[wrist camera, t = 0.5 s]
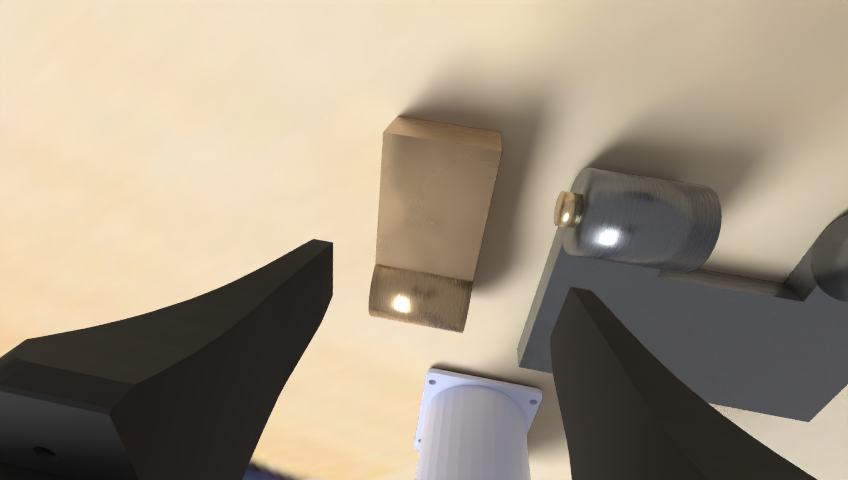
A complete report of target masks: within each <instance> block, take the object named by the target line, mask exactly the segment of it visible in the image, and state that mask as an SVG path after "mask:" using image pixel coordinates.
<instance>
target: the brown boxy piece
mask: <svg viewBox="0 0 848 480" xmlns="http://www.w3.org/2000/svg"><path fill="white" fill-rule="evenodd" d="M501 154H502V144H501V133H500V132H497V131H491V130H484V129H478V128H471V127H465V126H458V125H451V124H445V123H438V122H432V121H425V120H419V119H412V118H406V117H399V116H397V117H396V118H395V119H394V121H393V122H392V123H391V124H390V125H389V126H388V127H387V129H386V130H385V131H384V132H383V146H382V162H381V179H380V196H379V213H378V229H377V246H376V263H375V268H374V272H373V277H372V282H371V288H370V295H369V314H370V316H374V317H379V318H385V319H390V320H395V321H401V322H406V323H411V324H417V325H422V326H427V327H433V328H438V329H443V330H449V331H454V332H459V333H463V330H464V327H465V323H466V318H467V314H468V309H469V303H470V297H471V291H472V284H473V279H474V274H475V270H476V265H477V261H478V256H479V252H480V247H481V243H482V238H483V234H484V230H485V225H486V221H487V216H488V212H489V207H490V203H491V198H492V194H493V189H494V185H495V180H496V176H497V171H498V167H499V163H500V158H501Z"/></svg>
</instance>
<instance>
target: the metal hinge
mask: <svg viewBox="0 0 848 480" xmlns="http://www.w3.org/2000/svg"><path fill="white" fill-rule="evenodd" d="M721 218H722V215H721V206H720V202H719V199H718V197H717V195H716V193H715V192H714V191H713V190H712V189H711V188H709V187H707V186H703V185H697V184H691V183H684V182H678V181H671V180H665V179H659V178H652V177H646V176H639V175H633V174H627V173H620V172H614V171H607V170H601V169H595V168H588V167H587V168H584V169H583V170H582V171H581V172H580V173H579V174H578V176H577V177H576V179H575V181H574V183H573V186H572V188H571V191H570V192H565V191H562V192H561V193H560V195H559V197H558V199H557V202H556V206H555V211H554V224H555V225H556V226H558V229H557V232H556V235H555V238H554V241H553V244H552V247H551V250H550V253H549V256H548V259H547V262H546V265H545V268H544V271H543V274H542V277H541V280H540V283H539V286H538V289H537V292H536V295H535V298H534V301H533V303H532V306H531V309H530V312H529V315H528V318H527V321H526V324H525V327H524V330H523V333H522V336H521V339H520V342H519V345H518V348H517V351H518V363H519V367H522V368H527V369H533V370H538V371H543V372H548V373H553V371H552V361H551V346H550V336H551V334H552V331H553V329H554V326H555V324H556V321H557V319H558V316H559V314H560V311H561V309H562V306H563V304H564V301H565V299H566V296H567V294H568V291H569V289H570V287H576V288H581V289H586V290H591V291H592V292H593V293H595V294H596V295H597V296H598V297H599V299H600V300H601V301H602V302H603V303H604V304H605V305H606V306H607V307H608V308H609V309H610V310H611V311H612V313H613V314H614V315H615V316H616V317H617V318H618V319H619V320H620V321H621V322H622V323H623V325H624V326H625V327H626V328H627V329H628V330H629V331H630V332H631V333H632V334H633V335H634V336H635V337H636V338H637V339H638V340H639V341H640V342H641V343H642V345H643V346H644V347H645V348H646V349H647V350H648V351H649V352H650V353H651V354H653V355H654V356H655V357H656V358H657V359H658V360H659V361H660V362H661V363H662V364H663V365H664V366H665V367H666V368H667V369H668V370H669V371H670V372H671V373H673V374H674V375H675V376H676V377H677V378H678V379H679V380H680V381H682V382H683V383H684V384H685V385H686V386H688V387H689V388H690V389H691V390H692V391H693V392H695V393H696V394H697V395H698V396H699V397H701V398H702V399H703V400H704V401H705V402H707V403H711V404H716V405H722V406H727V407H732V408H737V409H743V410H748V411H753V412H758V413H764V414H769V415H774V416H779V417H785V418H790V419H795V420H800V421H806V422H809V421H810V420H811V419H812V418H813V417H815V416H816V415H817V414H818V413H819V412H820V411H821V410H822V409H823V408H824V407H825V406H826V405H827V404H828V403H829V402H830V401H831V400H832V399H833V398H834V397H835V396H836V395H837V394H838V393H839V392H840V391H841V390H842V389H843V388H844V387H845V386H846V385H847V384H848V215H845V216H843V217H841V218H839V219H837V220H836V221H834V222H833V223H831V224H830V225H829V226H828V227H827V228H826V229H825V230H824V231H823V232H822V233H821V234H820V236H819V237H818V238H817V240H816V241H815V242H814V244H813V245H812V246H811V248H810V249H809V251H808V252H807V253H806V255H805V256H804V257H803V259H802V260H801V261H800V263H799V264H798V265H797V267H796V268H795V269H794V271H793V272H792V273H791V275H790V276H789V277H788V279H787V280H786V281H785V283H784V284H783V283H777V282H771V281H765V280H759V279H753V278H747V277H741V276H735V275H730V274H724V273H718V272H712V271H706V270H700V269H698V268H699V267H701V266H702V265H703V264H704V263H705V261H706V260H707V259H708V258H709V256H710V255H711V253H712V251H713V249H714V247H715V245H716V242H717V240H718V236H719V233H720V228H721Z"/></svg>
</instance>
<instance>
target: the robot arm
mask: <svg viewBox="0 0 848 480" xmlns="http://www.w3.org/2000/svg"><path fill="white" fill-rule="evenodd" d="M332 296H333V243H332V242H327V241H321V240H316V239H313V240H311V241H309V242H307V243H305V244H303V245H301V246H300V247H298V248H296V249H294V250H293V251H291V252H289V253H287V254H286V255H284V256H282V257H280V258H278V259H276V260H275V261H273V262H271V263H269V264H267V265H266V266H264V267H262V268H260V269H258V270H256V271H254V272H252V273H250V274H248V275H246V276H244V277H242V278H240V279H238V280H235V281H233V282H231V283H229V284H227V285H225V286H222V287H220V288H218V289H215V290H213V291H210V292H208V293H205V294H203V295H200V296H198V297H195V298H192V299H190V300H187V301H184V302H181V303H177V304H174V305H171V306H168V307H165V308H162V309H159V310H156V311H153V312H149V313H146V314H142V315H139V316H135V317H131V318H127V319H124V320H120V321H115V322H111V323H107V324H103V325H99V326H94V327H90V328H85V329H80V330H74V331H69V332H64V333H59V334H54V335H48V336H43V337H37V338H31V339H26V340H25V341H23V342H22V343H21V344H19V345H18V346H16V347H15V348H13V349H12V350H11V351H9V352H8V353H6V354H5V355H3V356H2V357H1V358H0V480H242V479H243V476H244V474H245V471H246V469H247V467H248V464H249V462H250V459H251V457H252V455H253V452H254V450H255V448H256V446H257V443H258V441H259V439H260V436H261V434H262V432H263V430H264V427H265V425H266V423H267V421H268V419H269V416H270V414H271V412H272V410H273V408H274V406H275V403H276V401H277V399H278V397H279V395H280V393H281V391H282V389H283V387H284V385H285V384H286V382H287V380H288V378H289V377H290V375H291V373H292V372H293V370H294V368H295V367H296V365H297V363H298V361H299V360H300V358H301V356H302V355H303V353H304V351H305V350H306V348H307V346H308V345H309V343H310V341H311V339H312V338H313V336H314V334H315V333H316V331H317V329H318V327H319V326H320V324H321V322H322V320H323V317H324V315H325V313H326V310H327V308H328V306H329V303H330V301H331V298H332ZM550 346H551V361H552V371H553V376H554V381H555V386H556V391H557V396H558V400H559V405H560V410H561V415H562V420H563V424H564V429H565V434H566V439H567V444H568V450H569V456H570V465H571V475H572V480H817V479H816V478H814V477H812V476H811V475H809V474H808V473H806V472H804V471H803V470H801V469H800V468H798V467H797V466H795V465H794V464H792V463H791V462H789V461H788V460H786V459H785V458H783V457H781V456H780V455H778V454H777V453H775V452H774V451H772V450H771V449H769V448H768V447H767V446H765V445H764V444H762V443H761V442H759V441H758V440H756V439H755V438H753V437H752V436H751V435H749V434H748V433H746V432H745V431H744V430H742V429H741V428H740V427H738V426H737V425H736V424H734V423H733V422H732V421H730V420H729V419H727V418H726V417H725V416H723V415H722V414H721V413H719V412H718V411H717V410H716V409H714V408H713V407H712V406H710V405H709V404H708V403H707V402H705V401H704V400H703V399H702V398H701V397H699V396H698V395H697V394H696V393H695V392H693V391H692V390H691V389H690V388H689V387H688V386H686V385H685V384H684V383H683V382H682V381H680V380H679V379H678V378H677V377H676V376H675V375H674V374H673V373H671V372H670V371H669V370H668V369H667V368H666V367H665V366H664V365H663V364H662V363H661V362H660V361H659V360H658V359H657V358H656V357H655V356H654V355H653V354H651V353H650V352H649V351H648V350H647V349H646V348H645V347H644V346H643V345H642V343H641V342H640V341H639V340H638V339H637V338H636V337H635V336H634V335H633V334H632V333H631V332H630V331H629V330H628V329H627V328H626V327H625V326H624V325H623V323H622V322H621V321H620V320H619V319H618V318H617V317H616V316H615V315H614V314H613V313H612V311H611V310H610V309H609V308H608V307H607V306H606V305H605V304H604V303H603V302H602V301H601V300H600V299H599V297H598V296H597V295H596V294H595V293H593V292H592V291H591V290H586V289H581V288H576V287H570V289H569V291H568V294H567V296H566V299H565V301H564V304H563V306H562V309H561V311H560V314H559V316H558V319H557V321H556V324H555V326H554V329H553V331H552V334H551V336H550ZM542 398H543V395H542V391H541V390H540V389H537V388H533V387H528V386H523V385H517V384H512V383H507V382H502V381H497V380H492V379H486V378H481V377H476V376H471V375H466V374H461V373H455V372H450V371H445V370H440V369H435V368H432V369H429V370H428V371H427V373H426V379H425V385H424V391H423V397H422V402H421V408H420V414H419V420H418V425H417V431H416V437H415V443H414V448H415V450H417V451H419V456H418V462H417V469H416V475H415V480H531V479H530V468H529V456H528V445H527V434H528V431H529V429H530V426H531V424H532V422H533V419H534V417H535V415H536V412H537V410H538V408H539V405H540V403H541V400H542ZM532 399H533V400H532Z"/></svg>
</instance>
